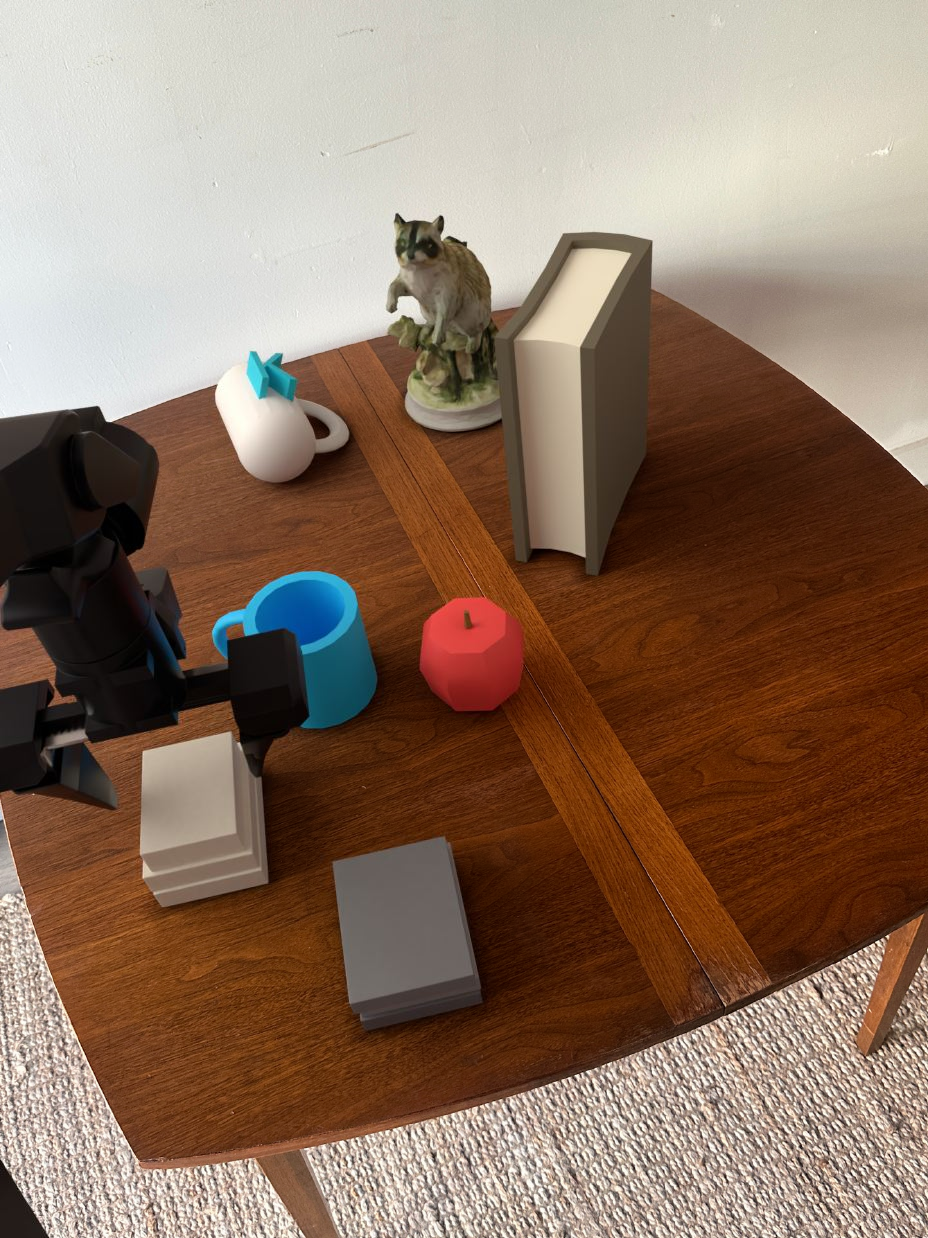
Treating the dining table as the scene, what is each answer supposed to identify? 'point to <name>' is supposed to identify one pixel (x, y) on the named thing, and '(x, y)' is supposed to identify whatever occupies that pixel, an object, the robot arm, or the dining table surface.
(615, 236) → the book
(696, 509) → the dining table surface
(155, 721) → the robot arm
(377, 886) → the grey pile
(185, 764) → the white block
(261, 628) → the mug
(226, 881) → the white pile
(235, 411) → the mug
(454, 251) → the figurine
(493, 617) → the apple
